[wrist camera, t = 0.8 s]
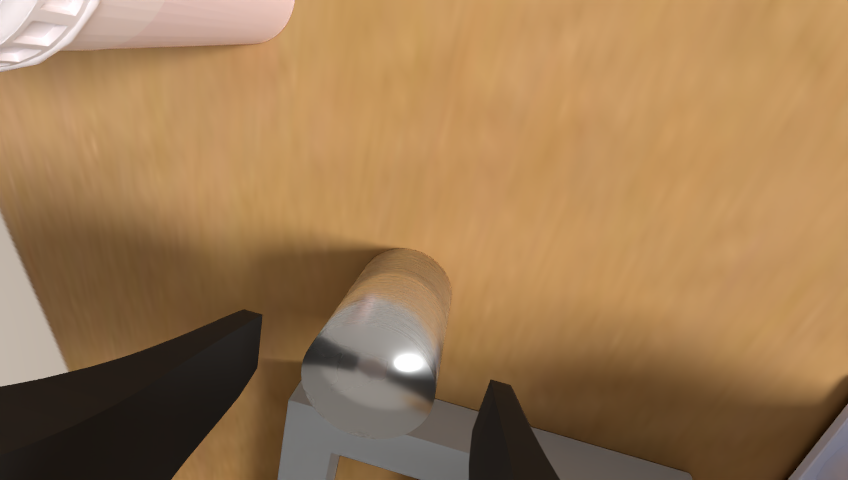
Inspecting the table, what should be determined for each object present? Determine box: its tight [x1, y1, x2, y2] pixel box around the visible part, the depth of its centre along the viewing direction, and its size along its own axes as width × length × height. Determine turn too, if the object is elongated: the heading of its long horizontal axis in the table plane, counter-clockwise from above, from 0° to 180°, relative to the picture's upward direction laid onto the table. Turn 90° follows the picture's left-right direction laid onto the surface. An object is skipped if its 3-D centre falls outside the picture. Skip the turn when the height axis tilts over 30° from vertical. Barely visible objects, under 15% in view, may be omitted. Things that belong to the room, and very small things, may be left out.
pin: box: [301, 248, 452, 439], centre depth 15 cm, size 4×4×6 cm
